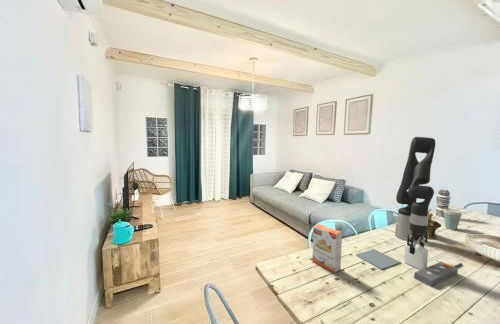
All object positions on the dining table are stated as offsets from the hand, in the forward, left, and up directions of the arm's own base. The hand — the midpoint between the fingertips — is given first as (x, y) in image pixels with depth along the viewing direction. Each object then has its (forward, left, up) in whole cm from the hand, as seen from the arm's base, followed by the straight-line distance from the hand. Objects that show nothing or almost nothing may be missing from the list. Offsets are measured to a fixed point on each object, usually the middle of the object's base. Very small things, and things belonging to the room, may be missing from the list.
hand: (416, 251), depth 115 cm
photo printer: (0, 0, -8) cm, 8 cm away
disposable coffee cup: (-19, +82, -8) cm, 85 cm away
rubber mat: (-13, -12, -8) cm, 20 cm away
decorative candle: (-36, +107, -8) cm, 113 cm away
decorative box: (-23, +50, -9) cm, 56 cm away
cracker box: (-20, -44, -8) cm, 49 cm away
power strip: (+9, +7, -8) cm, 14 cm away
